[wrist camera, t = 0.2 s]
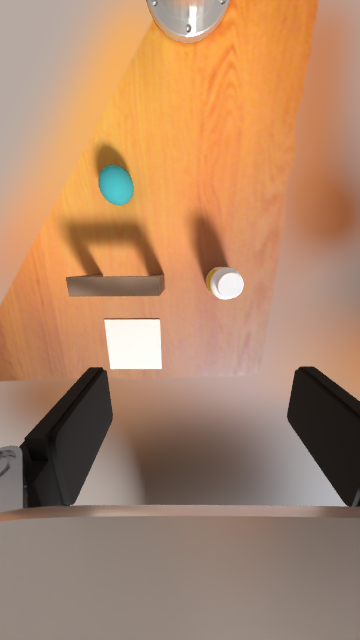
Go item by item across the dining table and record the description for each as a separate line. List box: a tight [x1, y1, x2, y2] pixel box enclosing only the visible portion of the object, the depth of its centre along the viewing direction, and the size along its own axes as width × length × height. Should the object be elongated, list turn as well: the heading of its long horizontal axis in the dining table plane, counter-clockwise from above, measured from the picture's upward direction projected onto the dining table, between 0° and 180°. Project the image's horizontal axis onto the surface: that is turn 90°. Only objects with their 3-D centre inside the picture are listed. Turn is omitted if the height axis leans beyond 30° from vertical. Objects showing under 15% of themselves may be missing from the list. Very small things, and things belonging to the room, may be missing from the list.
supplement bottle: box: [206, 267, 244, 299], centre depth 33 cm, size 5×5×10 cm
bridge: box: [66, 274, 165, 296], centre depth 34 cm, size 3×14×9 cm, turn 90°
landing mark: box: [104, 319, 162, 369], centre depth 42 cm, size 12×12×1 cm
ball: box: [99, 165, 133, 205], centre depth 31 cm, size 6×6×6 cm
